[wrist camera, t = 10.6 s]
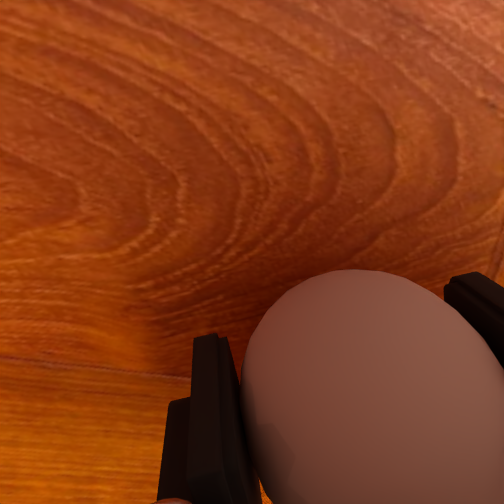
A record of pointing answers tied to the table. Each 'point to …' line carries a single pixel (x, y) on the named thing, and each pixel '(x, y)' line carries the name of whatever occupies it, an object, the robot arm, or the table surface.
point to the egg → (372, 397)
